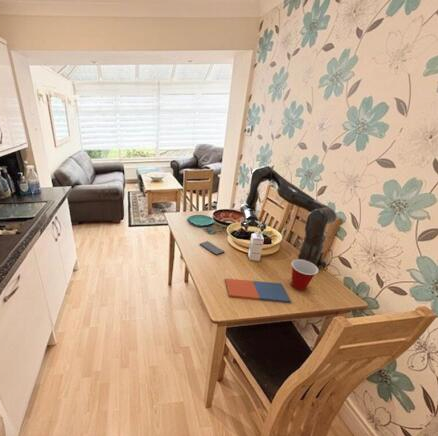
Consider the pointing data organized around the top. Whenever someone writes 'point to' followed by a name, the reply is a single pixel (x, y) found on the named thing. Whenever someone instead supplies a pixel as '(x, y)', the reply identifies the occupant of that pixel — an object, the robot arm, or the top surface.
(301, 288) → the plastic cup
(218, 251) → the smartphone
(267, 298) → the mat
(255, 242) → the syrup box
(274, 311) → the top surface
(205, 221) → the teal oval plate
